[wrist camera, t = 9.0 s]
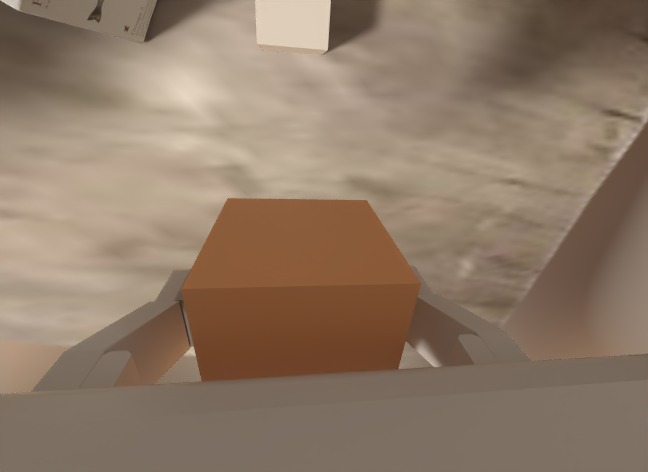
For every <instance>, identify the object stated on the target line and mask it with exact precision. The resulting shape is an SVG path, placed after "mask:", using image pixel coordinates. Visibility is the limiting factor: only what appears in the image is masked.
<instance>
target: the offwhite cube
mask: <svg viewBox="0 0 648 472" xmlns="http://www.w3.org/2000/svg"><path fill="white" fill-rule="evenodd" d="M330 5H331V0H255V6H256V31H257V45H258V46H259V47H260V48H261V49H262V50H263V51H275V52H287V53H298V54H310V55H322V54H324V53H325V52H326V51H327V50H328V38H329V22H330Z"/></svg>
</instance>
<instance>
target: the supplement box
mask: <svg viewBox="0 0 648 472" xmlns="http://www.w3.org/2000/svg"><path fill="white" fill-rule="evenodd" d="M1 1H2V2H4V3H6V4H7V5H9V6H11V7H12V8H14V9H16V10H18V11H21V12H24V13H28V14H32V15H36V16H40V17H43V18H47V19H51V20H54V21H58V22H62V23H66V24H69V25H73V26H77V27H81V28H84V29H88V30H92V31H96V32H100V33H104V34H108V35H112V36H115V37H119V38H123V39H127V40H130V41H134V42H138V43H143V42H144V39H145V36H146V32H147V29H148V26H149V23H150V20H151V17H152V14H153V11H154V8H155V5H156V3H157V0H1Z"/></svg>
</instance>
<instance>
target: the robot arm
mask: <svg viewBox="0 0 648 472" xmlns="http://www.w3.org/2000/svg"><path fill="white" fill-rule="evenodd" d="M410 267H411V269H412V270H413V272H414V273H415V275H416V276H417V278H418V279H419V281H420V282H421V286H420V290H419V294H418V297H417V301H416V305H415V308H414V312H413V316H412V319H411V323H410V327H409V331H408V334H407V338H406V341H407V342H408V343H409V344H410V345H411V346H412V347H413V348H414V349H415V350H416V351H417V352H419V353H420V354H421V355H422V356H423V357H424V358H425V359H426V360H427V361H428V362H429V363H431V364H432V365H433V366H434V367H427V368H410V369H393V370H377V371H360V372H343V373H327V374H311V375H295V376H279V377H263V378H247V379H231V380H215V381H199V382H183V383H167V384H155V383H156V382H157V381H158V380H159V379H160V378H161V377H162V376H163V375H164V374H165V373H166V372H167V371H168V370H169V369H170V368H171V367H172V366H173V365H174V364H175V363H176V362H177V361H178V360H179V359H180V358H181V357H182V356H183V355H184V354H185V353H186V352H187V351H188V350H189V349H190V347H192V346H194V344H193V340H192V336H191V331H190V327H189V322H188V318H187V313H186V309H185V304H184V300H183V296H182V291H181V288H182V286H183V284H184V282H185V280H186V278H187V276H188V274H189V273H190V271H191V269H177V270H175V271H173V273H172V274H171V276H170V277H169V279H168V281H167V282H166V284H165V286H164V287H163V289H162V290H161V292H160V294H159V295H158V297H157V299H156V300H155V302H148V303H147V304H145V305H143V306H142V307H140V308H138V309H136V310H135V311H133V312H131V313H130V314H128V315H126V316H125V317H123V318H121V319H119V320H118V321H116V322H114V323H113V324H111V325H109V326H108V327H106V328H104V329H102V330H101V331H99V332H97V333H96V334H94V335H92V336H91V337H89V338H87V339H85V340H84V341H82V342H80V343H79V344H77V345H75V346H73V347H72V348H70V349H68V350H67V351H65V352H64V353H63V354H62V355H61V356H60V357H59V359H58V360H57V361H56V362H55V364H54V365H53V366H52V367H51V368H50V369H49V371H48V372H47V373H46V374H45V375H44V377H43V378H42V379H41V380H40V382H39V383H38V384H37V385H36V386H35V387H34V389H33V390H32V391H31V392H21V393H6V394H0V472H648V354H637V355H620V356H603V357H587V358H570V359H555V360H539V361H531V360H530V358H529V357H528V356H527V355H526V354H525V353H524V352H523V350H521V348H520V347H519V346H518V345H517V344H516V342H515V341H514V340H513V339H512V338H511V337H510V336H509V334H508V333H507V332H506V331H504V330H502V329H500V328H499V327H497V326H495V325H493V324H491V323H490V322H488V321H486V320H484V319H482V318H481V317H479V316H477V315H475V314H473V313H472V312H470V311H468V310H466V309H464V308H463V307H461V306H459V305H457V304H455V303H453V302H452V301H450V300H448V299H446V298H444V297H443V296H441V295H439V294H433V292H432V291H431V289H430V288H429V287H428V285H427V284H426V282H425V281H424V279H423V278H422V277H421V275H420V274H419V272H418V271H417V269H416V268H415V267H414V266H410Z"/></svg>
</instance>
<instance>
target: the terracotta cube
mask: <svg viewBox="0 0 648 472" xmlns="http://www.w3.org/2000/svg"><path fill="white" fill-rule="evenodd" d="M420 286H421V282H420V281H419V279H418V278H417V276H416V275H415V273H414V272H413V270H412V269H411V267H410V266H409V264H408V262H407V261H406V259H405V258H404V256H403V255H402V253H401V252H400V250H399V249H398V247H397V246H396V244H395V243H394V241H393V240H392V238H391V237H390V235H389V234H388V232H387V231H386V229H385V228H384V226H383V225H382V223H381V221H380V220H379V218H378V217H377V215H376V214H375V212H374V211H373V209H372V208H371V206H370V205H369V203H368V202H367V200H306V199H237V198H228V199H227V201H226V203H225V205H224V207H223V209H222V211H221V213H220V215H219V217H218V218H217V220H216V222H215V224H214V226H213V228H212V230H211V232H210V234H209V236H208V238H207V240H206V242H205V244H204V245H203V247H202V249H201V251H200V253H199V255H198V257H197V259H196V261H195V263H194V265H193V267H192V269H191V271H190V273H189V274H188V276H187V278H186V280H185V282H184V284H183V286H182V288H181V291H182V296H183V300H184V304H185V309H186V313H187V318H188V322H189V327H190V331H191V336H192V340H193V344H194V349H195V353H196V358H197V362H198V367H199V371H200V375H201V380H202V381H215V380H231V379H247V378H263V377H279V376H295V375H311V374H327V373H343V372H360V371H377V370H393V369H398V367H399V364H400V360H401V356H402V353H403V349H404V345H405V342H406V338H407V334H408V331H409V327H410V323H411V319H412V316H413V312H414V308H415V305H416V301H417V297H418V294H419V290H420Z"/></svg>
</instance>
